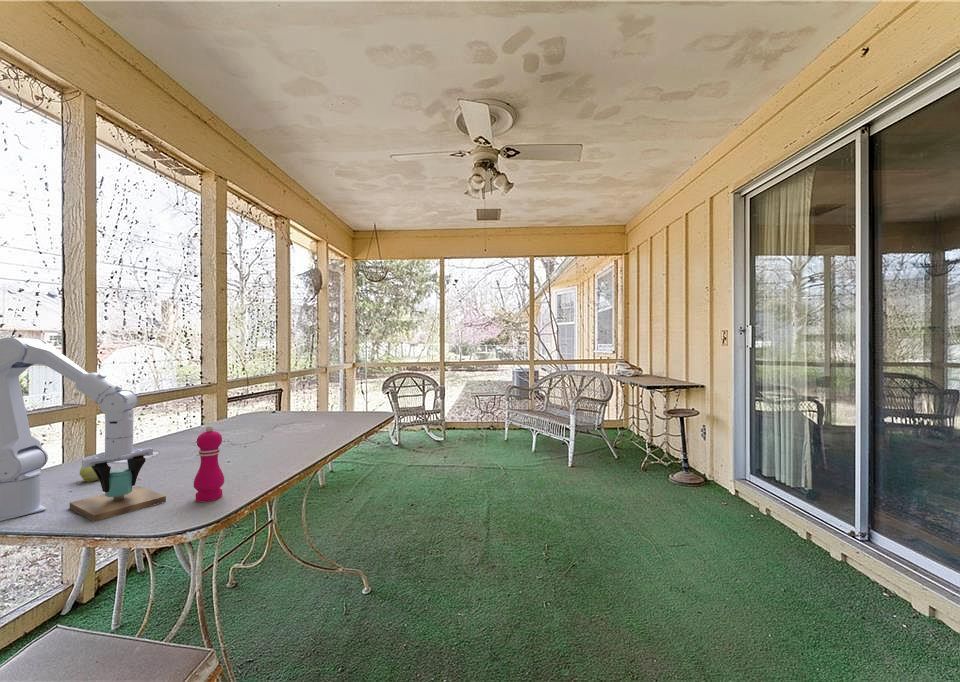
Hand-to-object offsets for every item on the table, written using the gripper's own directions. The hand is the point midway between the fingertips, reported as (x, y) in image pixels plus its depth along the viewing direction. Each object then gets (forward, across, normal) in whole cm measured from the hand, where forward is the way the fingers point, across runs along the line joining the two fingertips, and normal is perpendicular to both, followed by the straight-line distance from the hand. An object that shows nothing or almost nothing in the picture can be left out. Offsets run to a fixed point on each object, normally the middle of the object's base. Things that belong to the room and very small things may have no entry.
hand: (118, 488), depth 112 cm
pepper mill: (+5, +15, -15) cm, 22 cm away
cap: (+1, 0, 0) cm, 1 cm away
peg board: (+4, 0, 0) cm, 4 cm away
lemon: (+5, +5, +33) cm, 34 cm away
